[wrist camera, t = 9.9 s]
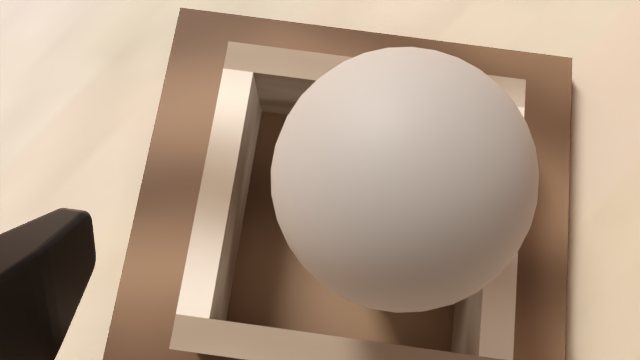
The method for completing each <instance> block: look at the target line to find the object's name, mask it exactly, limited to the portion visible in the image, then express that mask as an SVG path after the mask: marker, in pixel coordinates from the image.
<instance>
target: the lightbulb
mask: <svg viewBox="0 0 640 360" xmlns="http://www.w3.org/2000/svg"><path fill="white" fill-rule="evenodd" d="M538 183H539V168H538V161H537V154H536V147H535V144H534V141H533V139H532V136H531V133H530V130H529V127H528V124H527V122H526V121H525V119H524V117H523V116H522V114H521V112H520V111H519V109H518V107H517V105H516V104H515V102H514V101H513V100H512V99H511V98H510V97H509V95H508V94H507V93H506V92H505V91H504V90H503V89H502V87H501V86H500V85H499V84H498V83H496V82H495V81H494V80H493V79H491V78H490V77H489V76H488V75H486V74H485V73H484V72H483V71H481V70H480V69H478V68H477V67H475V66H473V65H471V64H469V63H467V62H465V61H464V60H462V59H460V58H458V57H455V56H452V55H449V54H445V53H442V52H439V51H436V50H431V49H424V48H417V47H392V48H384V49H379V50H375V51H370V52H366V53H363V54H360V55H358V56H356V57H353V58H351V59H349V60H346V61H344V62H342V63H340V64H339V65H338V66H336V67H335V68H333V69H332V70H330V71H329V72H327V73H326V74H324V75H323V76H321V77H320V78H319V79H317V80H316V81H315V82H314V83H313V84H312V85H311V86H310V87H309V88H308V89H307V90H306V91H305V92H304V93H303V94H302V95H301V96H300V98H299V99H298V101H297V102H296V104H295V105H294V107H293V108H292V110H291V111H290V113H289V114H288V116H287V118H286V120H285V123H284V125H283V128H282V130H281V132H280V135H279V137H278V140H277V142H276V145H275V149H274V155H273V160H272V166H271V196H272V200H273V205H274V209H275V213H276V218H277V221H278V224H279V226H280V228H281V230H282V233H283V235H284V237H285V239H286V241H287V244H288V246H289V248H290V249H291V250H292V252H293V253H294V255H295V256H296V257H297V259H298V260H299V262H300V263H301V264H302V266H303V267H304V268H305V269H306V270H307V271H308V272H309V273H310V274H311V275H312V276H313V277H314V278H315V279H317V280H318V281H319V282H320V283H321V284H322V285H323V286H325V287H326V288H328V289H329V290H331V291H333V292H334V293H336V294H338V295H339V296H341V297H342V298H344V299H346V300H348V301H351V302H354V303H357V304H359V305H362V306H365V307H367V308H370V309H376V310H382V311H389V312H395V313H402V312H423V311H428V310H432V309H436V308H440V307H444V306H448V305H452V304H455V303H457V302H459V301H461V300H463V299H465V298H467V297H469V296H471V295H473V294H475V293H477V292H478V291H480V290H481V289H482V288H484V287H485V286H486V285H487V284H489V283H490V282H491V281H493V280H494V279H495V278H496V277H498V276H499V274H500V273H501V272H502V271H503V270H504V268H505V267H506V266H507V265H508V264H509V262H510V261H511V260H512V259H513V258H514V256H515V255H516V253H517V252H518V250H519V248H520V247H521V245H522V243H523V241H524V239H525V237H526V235H527V233H528V231H529V229H530V227H531V224H532V220H533V217H534V213H535V209H536V206H537V199H538Z"/></svg>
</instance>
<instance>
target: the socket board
mask: <svg viewBox="0 0 640 360" xmlns="http://www.w3.org/2000/svg"><path fill="white" fill-rule="evenodd" d="M392 47H417V48H424V49H431V50H436V51H439V52H442V53H445V54H449V55H452V56H455V57H458V58H460V59H462V60H464V61H465V62H467V63H469V64H471V65H473V66H475V67H477V68H478V69H480V70H481V71H483V72H484V73H485V74H486V75H488V76H489V77H490V78H491V79H493V80H494V81H495V82H496V83H498V84H499V85H500V86H501V87H502V89H503V90H504V91H505V92H506V93H507V94H508V95H509V97H510V98H511V99H512V100H513V101H514V102H515V104H516V105H517V107H518V109H519V111H520V112H521V114H522V116H523V117H524V119H525V121H526V122H527V124H528V127H529V130H530V133H531V136H532V139H533V141H534V144H535V147H536V154H537V161H538V168H539V183H538V199H537V206H536V209H535V213H534V217H533V220H532V224H531V227H530V229H529V231H528V233H527V235H526V237H525V239H524V241H523V243H522V245H521V247H520V248H519V250H518V252H517V253H516V255H515V256H514V258H513V259H512V260H511V261H510V262H509V264H508V265H507V266H506V267H505V268H504V270H503V271H502V272H501V273H500V274H499V276H498V277H496V278H495V279H494V280H493V281H491V282H490V283H489V284H487V285H486V286H485V287H484V288H482V289H481V290H480V291H478V292H477V293H475V294H473V295H471V296H469V297H467V298H465V299H463V300H461V301H459V302H457V303H455V304H452V305H448V306H444V307H440V308H436V309H432V310H428V311H423V312H402V313H395V312H389V311H382V310H376V309H370V308H367V307H365V306H362V305H359V304H357V303H354V302H351V301H348V300H346V299H344V298H342V297H341V296H339V295H338V294H336V293H334V292H333V291H331V290H329V289H328V288H326V287H325V286H323V285H322V284H321V283H320V282H319V281H318V280H317V279H315V278H314V277H313V276H312V275H311V274H310V273H309V272H308V271H307V270H306V269H305V268H304V267H303V266H302V264H301V263H300V262H299V260H298V259H297V257H296V256H295V255H294V253H293V252H292V250H291V249H290V248H289V246H288V244H287V241H286V239H285V237H284V235H283V233H282V230H281V228H280V226H279V224H278V221H277V218H276V213H275V209H274V205H273V200H272V196H271V166H272V160H273V155H274V149H275V145H276V142H277V140H278V137H279V135H280V132H281V130H282V128H283V125H284V123H285V120H286V118H287V116H288V114H289V113H290V111H291V110H292V108H293V107H294V105H295V104H296V102H297V101H298V99H299V98H300V96H301V95H302V94H303V93H304V92H305V91H306V90H307V89H308V88H309V87H310V86H311V85H312V84H313V83H314V82H315V81H316V80H317V79H319V78H320V77H321V76H323V75H324V74H326V73H327V72H329V71H330V70H332V69H333V68H335V67H336V66H338V65H339V64H340V63H342V62H344V61H346V60H349V59H351V58H353V57H356V56H358V55H360V54H363V53H366V52H370V51H375V50H379V49H384V48H392ZM571 86H572V58H568V57H560V56H552V55H545V54H537V53H529V52H521V51H513V50H506V49H498V48H490V47H482V46H474V45H467V44H459V43H451V42H443V41H436V40H428V39H420V38H412V37H404V36H397V35H389V34H381V33H373V32H365V31H358V30H350V29H342V28H334V27H326V26H319V25H311V24H303V23H295V22H288V21H280V20H272V19H264V18H256V17H249V16H241V15H233V14H225V13H217V12H210V11H202V10H194V9H186V8H180V12H179V16H178V21H177V26H176V30H175V35H174V39H173V44H172V48H171V53H170V57H169V62H168V66H167V71H166V75H165V80H164V84H163V89H162V94H161V98H160V103H159V107H158V112H157V116H156V121H155V125H154V130H153V134H152V139H151V143H150V148H149V153H148V157H147V162H146V166H145V171H144V175H143V180H142V184H141V189H140V193H139V198H138V202H137V207H136V211H135V216H134V221H133V225H132V230H131V234H130V239H129V243H128V248H127V252H126V257H125V261H124V266H123V270H122V275H121V279H120V284H119V289H118V293H117V298H116V302H115V307H114V311H113V316H112V320H111V325H110V329H109V334H108V338H107V343H106V347H105V352H104V357H103V360H565V336H566V294H567V252H568V211H569V169H570V127H571Z"/></svg>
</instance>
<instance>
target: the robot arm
mask: <svg viewBox="0 0 640 360" xmlns="http://www.w3.org/2000/svg"><path fill="white" fill-rule="evenodd" d="M95 261H96V252H95V243H94V234H93V225H92V219H91V216H90V214H89V213H88V212H86V211H82V210H75V209H68V208H60V209H57V210H55V211H53V212H50V213H48V214H46V215H43V216H41V217H39V218H37V219H34V220H32V221H30V222H27V223H25V224H23V225H20V226H18V227H16V228H14V229H11V230H9V231H7V232H4V233H2V234H0V360H54V359H55V357H56V355H57V353H58V351H59V349H60V347H61V345H62V342H63V340H64V338H65V335H66V333H67V331H68V328H69V326H70V324H71V321H72V319H73V317H74V314H75V312H76V310H77V307H78V305H79V303H80V300H81V298H82V296H83V293H84V291H85V289H86V286H87V284H88V282H89V279H90V277H91V275H92V272H93V270H94V266H95Z"/></svg>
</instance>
